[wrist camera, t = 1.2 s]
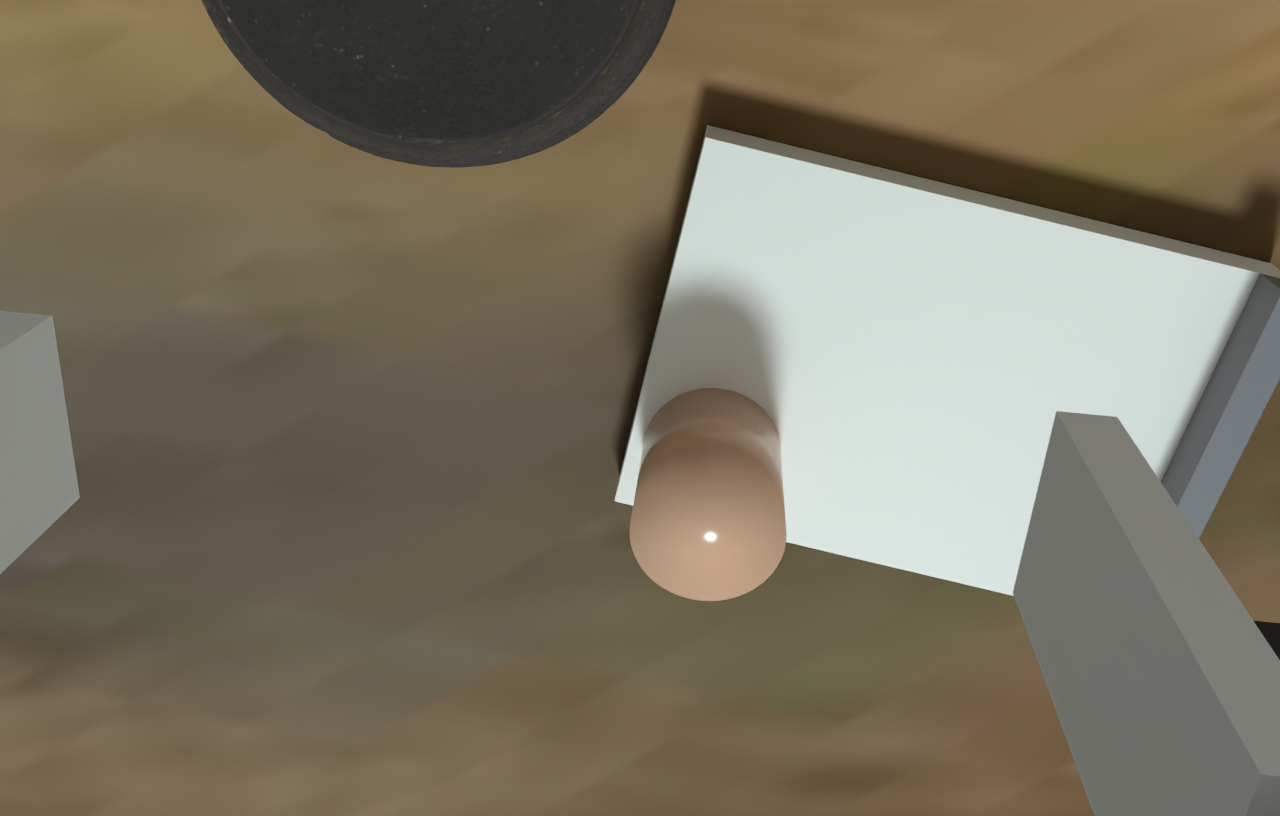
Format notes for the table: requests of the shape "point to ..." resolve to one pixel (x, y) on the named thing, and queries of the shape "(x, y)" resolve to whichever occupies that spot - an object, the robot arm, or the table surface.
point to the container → (444, 69)
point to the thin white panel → (947, 350)
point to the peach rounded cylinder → (709, 496)
